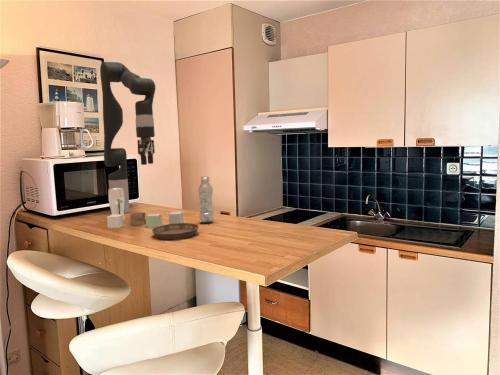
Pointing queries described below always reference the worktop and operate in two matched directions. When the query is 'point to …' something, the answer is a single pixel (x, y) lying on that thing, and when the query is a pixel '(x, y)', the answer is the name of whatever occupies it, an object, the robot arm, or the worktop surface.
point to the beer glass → (116, 201)
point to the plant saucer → (175, 231)
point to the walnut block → (138, 219)
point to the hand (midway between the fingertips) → (147, 164)
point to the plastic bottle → (205, 201)
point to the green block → (154, 220)
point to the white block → (115, 221)
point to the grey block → (176, 217)
